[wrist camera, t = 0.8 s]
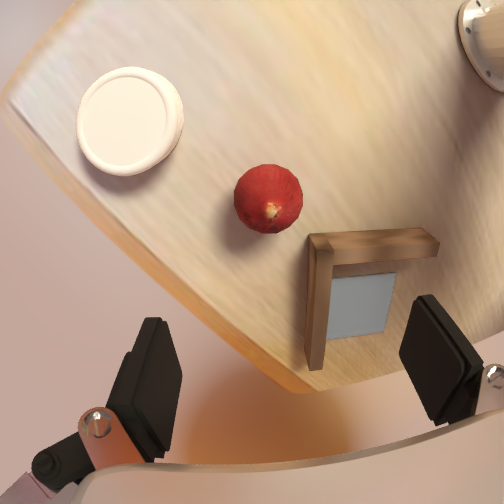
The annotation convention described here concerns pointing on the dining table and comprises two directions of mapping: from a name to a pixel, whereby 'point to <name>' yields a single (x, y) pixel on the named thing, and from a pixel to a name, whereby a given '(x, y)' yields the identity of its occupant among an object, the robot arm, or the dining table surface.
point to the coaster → (129, 121)
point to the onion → (268, 198)
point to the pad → (359, 305)
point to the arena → (349, 252)
